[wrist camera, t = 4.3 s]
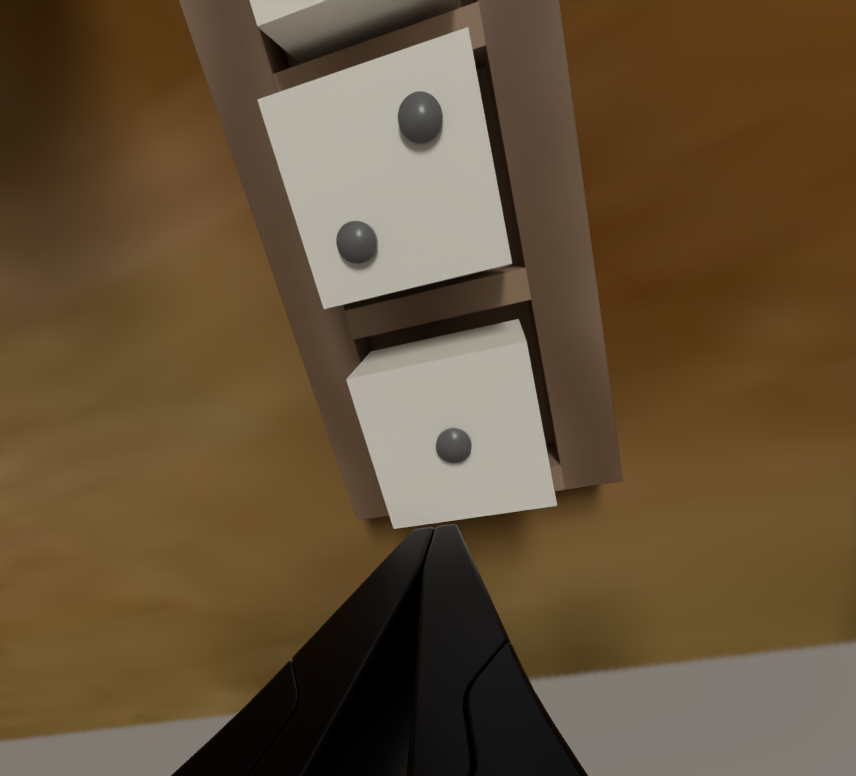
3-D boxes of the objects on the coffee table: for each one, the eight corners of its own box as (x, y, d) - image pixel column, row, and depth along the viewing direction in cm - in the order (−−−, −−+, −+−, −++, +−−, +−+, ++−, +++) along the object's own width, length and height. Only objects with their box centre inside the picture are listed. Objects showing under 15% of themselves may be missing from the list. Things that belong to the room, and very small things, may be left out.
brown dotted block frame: (499, -302, 12) (502, -424, 10) (606, 449, 19) (622, 481, 16) (166, -145, 14) (104, -217, 12) (371, 487, 20) (357, 520, 18)
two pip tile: (471, 70, 13) (467, 23, 10) (506, 255, 14) (512, 264, 11) (304, 125, 14) (253, 97, 11) (354, 293, 15) (321, 310, 12)
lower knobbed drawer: (518, 318, 15) (527, 343, 12) (544, 456, 16) (558, 509, 13) (370, 351, 16) (343, 381, 13) (408, 478, 17) (392, 533, 14)
